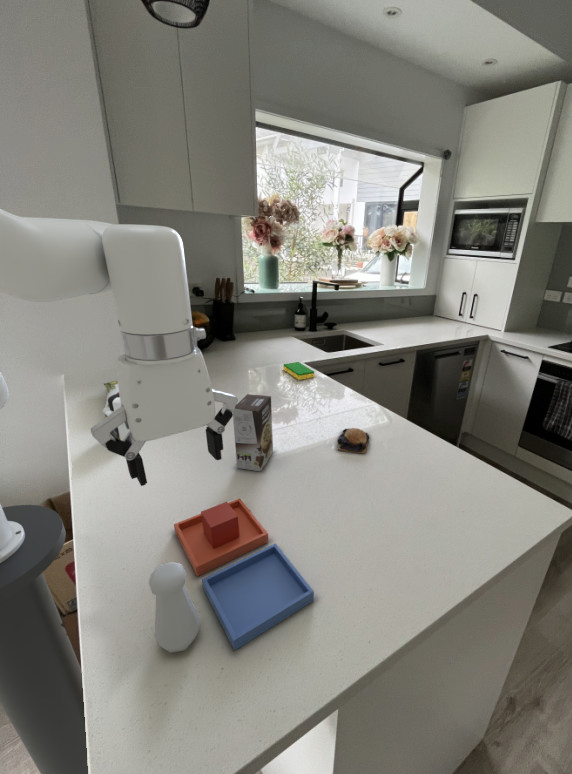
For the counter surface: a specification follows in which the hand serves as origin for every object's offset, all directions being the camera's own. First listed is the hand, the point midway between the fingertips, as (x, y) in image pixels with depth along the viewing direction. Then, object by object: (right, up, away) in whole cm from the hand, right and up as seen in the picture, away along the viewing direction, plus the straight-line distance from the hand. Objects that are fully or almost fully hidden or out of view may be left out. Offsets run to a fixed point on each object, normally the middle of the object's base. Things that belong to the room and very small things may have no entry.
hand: (180, 467), depth 50 cm
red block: (-1, -16, +20) cm, 26 cm away
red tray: (-1, -17, +20) cm, 26 cm away
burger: (+25, -3, +54) cm, 60 cm away
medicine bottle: (-36, -1, +52) cm, 63 cm away
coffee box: (+1, -6, +44) cm, 44 cm away
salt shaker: (-1, -25, +3) cm, 25 cm away
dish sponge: (+5, +20, +102) cm, 104 cm away
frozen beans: (-44, +10, +74) cm, 87 cm away
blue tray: (+8, -22, +9) cm, 25 cm away
